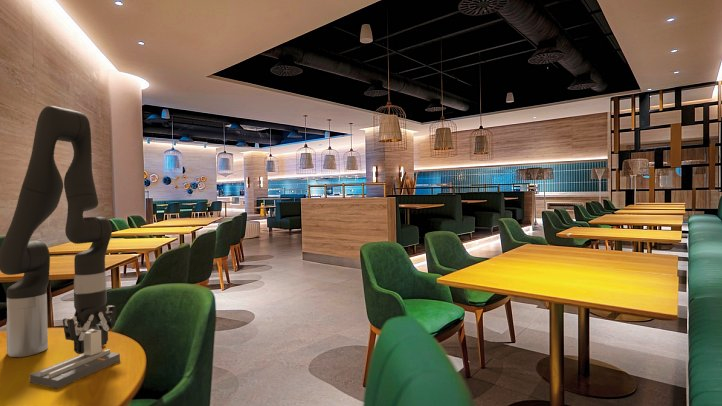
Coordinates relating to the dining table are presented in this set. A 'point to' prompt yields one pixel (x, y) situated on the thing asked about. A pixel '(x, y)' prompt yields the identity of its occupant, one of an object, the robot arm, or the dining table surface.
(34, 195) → the robot arm
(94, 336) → the fader tab
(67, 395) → the dining table surface
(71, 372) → the grey ridged rail base
